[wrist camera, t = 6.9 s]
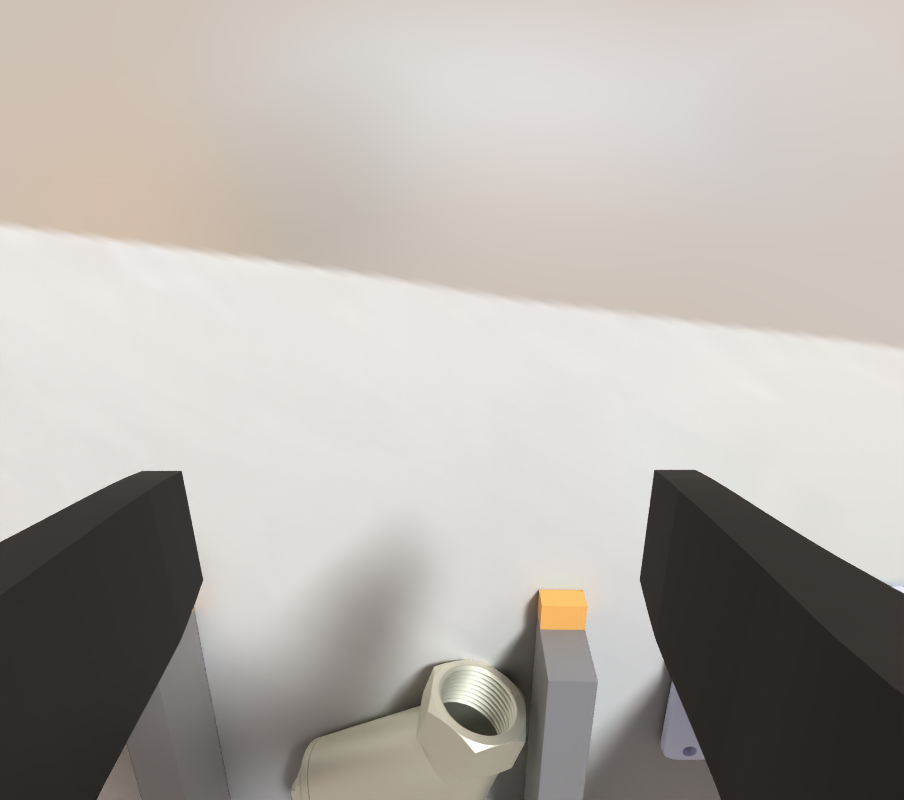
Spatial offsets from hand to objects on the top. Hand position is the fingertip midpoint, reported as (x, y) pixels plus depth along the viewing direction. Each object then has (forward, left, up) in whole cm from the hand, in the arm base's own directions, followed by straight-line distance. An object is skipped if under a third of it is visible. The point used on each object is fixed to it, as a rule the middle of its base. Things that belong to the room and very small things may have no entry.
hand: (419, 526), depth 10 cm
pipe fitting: (+1, +16, -10) cm, 19 cm away
